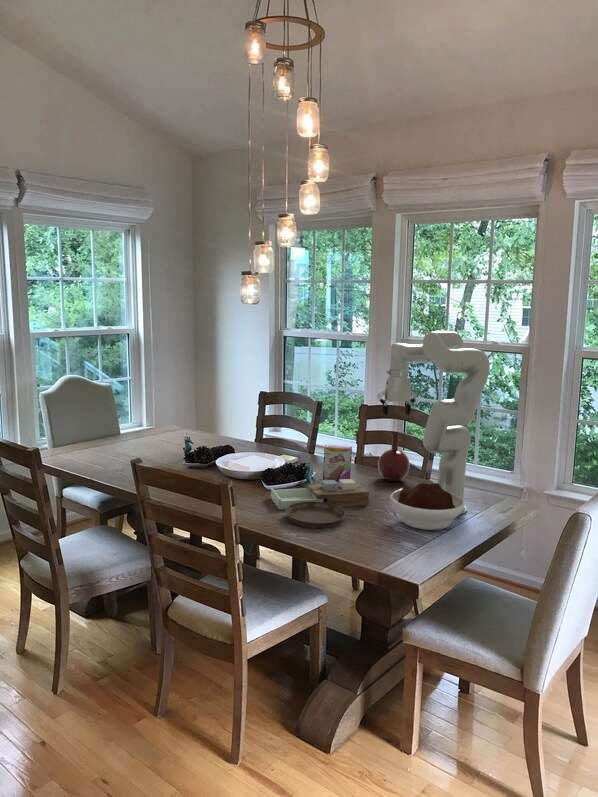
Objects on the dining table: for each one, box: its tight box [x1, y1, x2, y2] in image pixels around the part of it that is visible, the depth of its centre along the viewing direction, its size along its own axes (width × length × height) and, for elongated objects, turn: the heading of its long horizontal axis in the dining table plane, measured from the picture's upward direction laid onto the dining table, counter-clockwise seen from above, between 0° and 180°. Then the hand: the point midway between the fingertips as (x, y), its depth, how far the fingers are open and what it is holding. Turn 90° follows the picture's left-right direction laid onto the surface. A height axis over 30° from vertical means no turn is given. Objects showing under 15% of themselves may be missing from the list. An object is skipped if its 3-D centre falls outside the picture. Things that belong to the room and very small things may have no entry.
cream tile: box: [339, 478, 357, 490], centre depth 257 cm, size 5×5×2 cm
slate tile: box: [321, 479, 338, 491], centre depth 255 cm, size 5×5×2 cm
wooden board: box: [306, 480, 370, 508], centre depth 256 cm, size 14×20×5 cm
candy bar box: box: [322, 444, 353, 482], centre depth 274 cm, size 11×5×16 cm, turn 84°
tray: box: [270, 487, 324, 511], centre depth 253 cm, size 13×17×4 cm
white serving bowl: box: [389, 482, 465, 531], centre depth 233 cm, size 25×25×15 cm
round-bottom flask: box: [377, 432, 411, 482], centre depth 284 cm, size 13×13×20 cm
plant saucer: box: [285, 501, 346, 529], centre depth 236 cm, size 21×21×3 cm
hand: (396, 414), depth 281 cm, fingers open, 9 cm apart
